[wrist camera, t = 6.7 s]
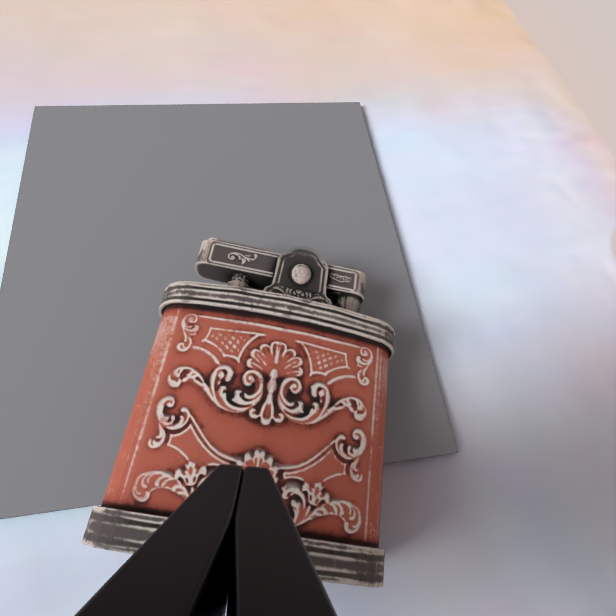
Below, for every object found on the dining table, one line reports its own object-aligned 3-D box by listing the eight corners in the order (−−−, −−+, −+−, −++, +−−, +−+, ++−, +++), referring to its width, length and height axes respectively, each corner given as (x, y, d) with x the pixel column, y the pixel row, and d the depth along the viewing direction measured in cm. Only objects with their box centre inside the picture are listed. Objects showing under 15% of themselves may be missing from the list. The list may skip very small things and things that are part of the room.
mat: (454, 453, 15) (457, 452, 15) (-38, 524, 13) (-44, 524, 13) (358, 107, 23) (359, 102, 23) (37, 111, 21) (34, 106, 21)
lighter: (363, 576, 14) (381, 298, 18) (402, 593, 10) (412, 254, 15) (100, 538, 13) (188, 258, 17) (61, 545, 10) (180, 204, 14)
